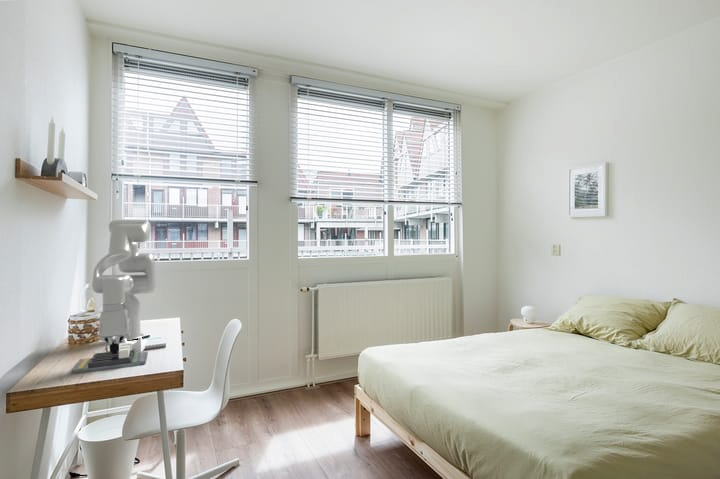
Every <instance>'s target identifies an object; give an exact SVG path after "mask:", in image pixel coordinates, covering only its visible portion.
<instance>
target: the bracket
mask: <svg viewBox="0 0 720 479" xmlns="http://www.w3.org/2000/svg"><path fill="white" fill-rule="evenodd" d="M128 342H132V349H134V353H137V352H144V350H145V349H146V347H147V346H146V344H147V345H148V339H143V338H142V336H139V337H138V340H133V341H127V339H126V338H125V339H122V342H121V345H122V344H123V343H128ZM145 346H146V347H145Z"/></svg>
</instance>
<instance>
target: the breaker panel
mask: <svg viewBox="0 0 720 479" xmlns="http://www.w3.org/2000/svg"><path fill="white" fill-rule="evenodd" d="M148 356H149V351H142V352H137V353H134V349H132V350H131V351H130V354H129V357H128V358H120V359H119V351H117V354H112V352H110V351H106V352H98V353H97V352H95V353H94V354H93V356H91V358H90V357H87V358H82V359H81V358H80V359H79V360H78V362H77V363H76V364H75V365H74V366H73V367H72V370H71V374H81V373H87V372H97V371H104V370H111V369H112V370H113V369H118V368H119V369H121V368H127V367H135V366H143V365H146V363H147V358H148Z"/></svg>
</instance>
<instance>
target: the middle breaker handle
mask: <svg viewBox="0 0 720 479" xmlns="http://www.w3.org/2000/svg"><path fill="white" fill-rule="evenodd" d="M125 348H129V354H130V345H126V346H122V345H121V346H119V349H125Z"/></svg>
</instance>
